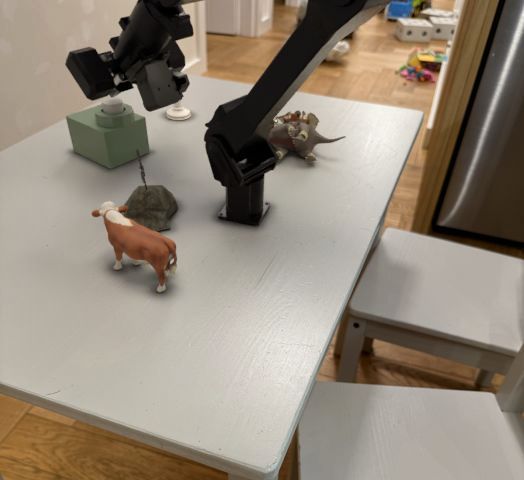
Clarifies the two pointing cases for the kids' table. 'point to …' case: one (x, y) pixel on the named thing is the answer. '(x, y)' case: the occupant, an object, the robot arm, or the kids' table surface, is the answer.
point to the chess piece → (178, 112)
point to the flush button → (112, 105)
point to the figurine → (297, 135)
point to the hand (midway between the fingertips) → (111, 94)
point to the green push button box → (108, 135)
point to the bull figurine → (138, 242)
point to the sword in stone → (150, 204)
